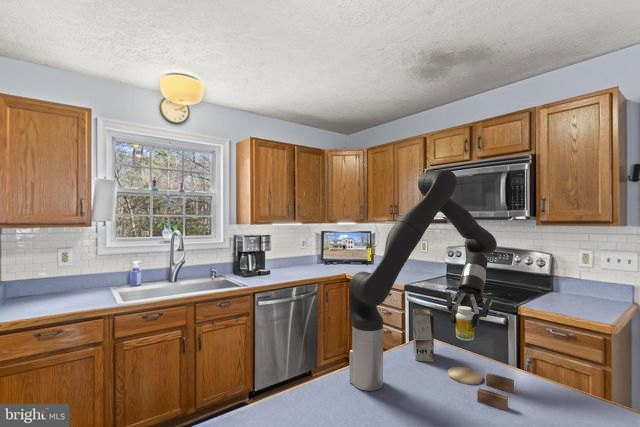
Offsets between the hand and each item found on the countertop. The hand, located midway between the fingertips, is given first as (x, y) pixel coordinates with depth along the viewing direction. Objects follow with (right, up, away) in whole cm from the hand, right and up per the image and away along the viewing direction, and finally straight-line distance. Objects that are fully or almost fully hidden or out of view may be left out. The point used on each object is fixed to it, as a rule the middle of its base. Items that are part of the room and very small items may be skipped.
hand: (463, 324), depth 103 cm
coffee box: (-7, -17, +16) cm, 25 cm away
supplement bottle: (+1, -5, +1) cm, 5 cm away
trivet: (+1, -17, +1) cm, 17 cm away
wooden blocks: (+5, -17, -10) cm, 20 cm away
